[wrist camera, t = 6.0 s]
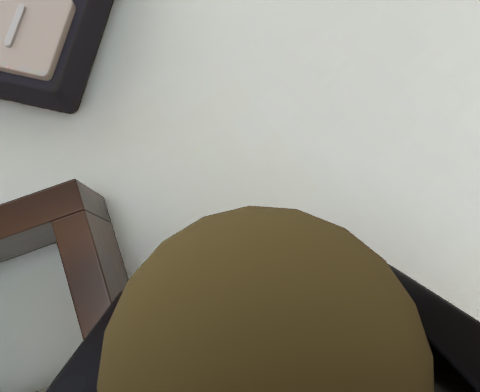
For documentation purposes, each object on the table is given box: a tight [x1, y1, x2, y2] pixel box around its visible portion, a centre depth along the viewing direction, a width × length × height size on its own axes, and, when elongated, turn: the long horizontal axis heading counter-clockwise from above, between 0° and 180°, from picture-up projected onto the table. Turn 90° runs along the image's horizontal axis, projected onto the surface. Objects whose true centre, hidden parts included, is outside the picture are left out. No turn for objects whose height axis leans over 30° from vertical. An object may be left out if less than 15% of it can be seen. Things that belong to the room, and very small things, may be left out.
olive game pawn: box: [97, 206, 434, 392], centre depth 10 cm, size 6×6×11 cm
